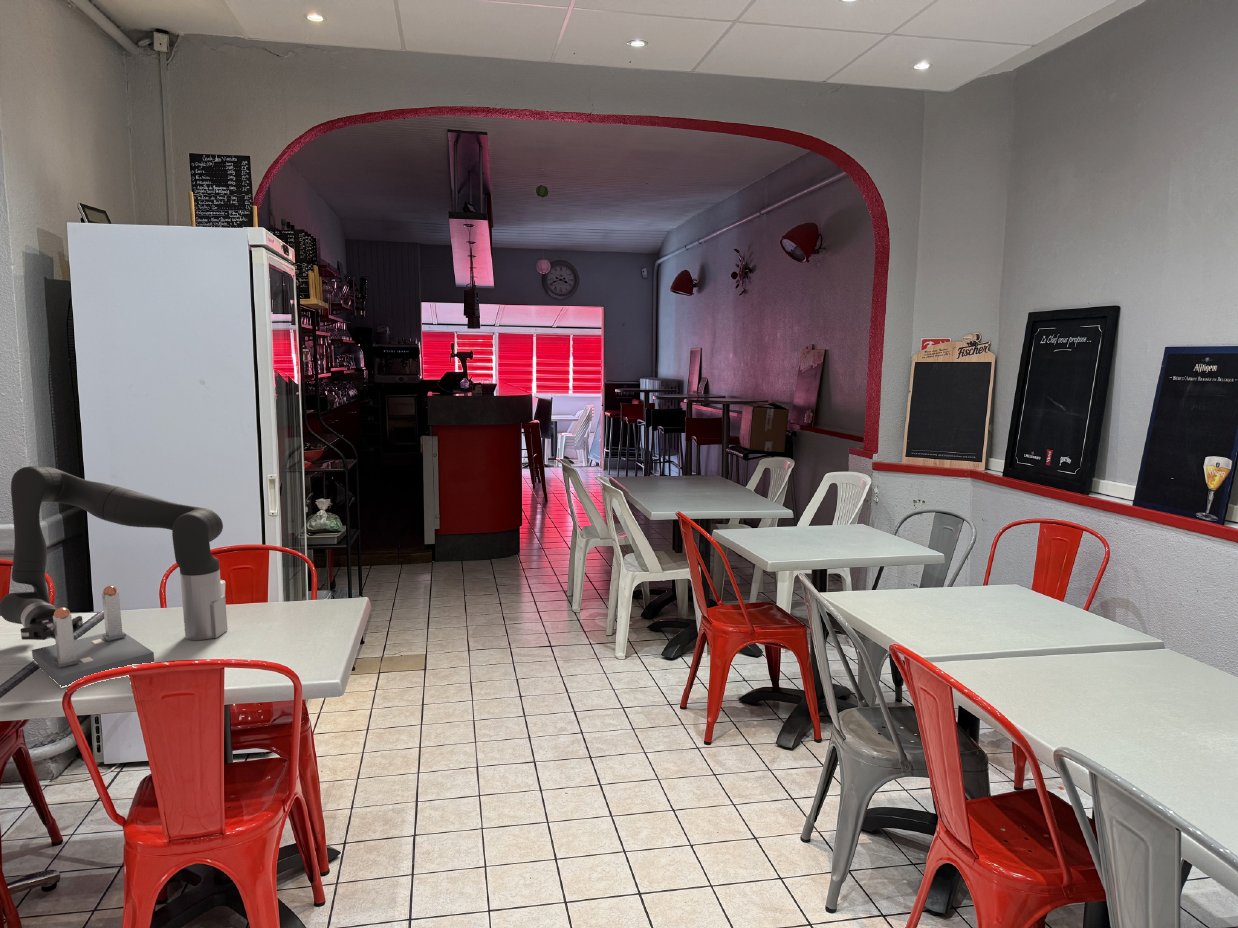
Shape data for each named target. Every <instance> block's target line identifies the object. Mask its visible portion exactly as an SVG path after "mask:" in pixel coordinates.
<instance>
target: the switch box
mask: <svg viewBox="0 0 1238 928" xmlns="http://www.w3.org/2000/svg"><path fill="white" fill-rule="evenodd" d="M103 634H106V632H105V633H100V634H96V635H92V636H87V637H82V638H78V639H77V638H76V639H74V646H75V655H76V657H77V658H78V659H79V660H80V663H77V664H73V665H69V666H65V667H61V668H59V667H58V666H57V665H56V664H54V660H57V650H56V643H55V644H53V645H48V646H43V647H39V648H34V649H32V650H31V655H32V660H33V659H34V660H35V661H36V662H37V663H38V665H39V667H40V668H41V669H40V668H39V667H38V668H39V669H40V670H41V671H42V670H43V671H44V672H45V673H46V674H45V673H44V672H43V671H42V672H43V673H44V674H45V675H46V676H48V677H49V676H50V677H51V678H52V679H54V680H55V681H56V682H57V683H58V684H59V685H61V687H62V686H65V685H67V686H68V685H69V684H71V683H72V682H74V681H76V680H78V679H80V678H83V677H84V676H88V675H91V674H94V673H98V672H101V671H105V670H109V669H112V668H118V667H124V666H127V665H132V664H142V663H151V662H155V652H154V651H153V650H151V649H150V648H148V647H146V646H145V645H143V643H141V642H140V641H138V640H136V639H135V638H133V637H131V636H130V635H129V634H127V633H126V637H123V638H119V639H114V640H110V641H107V640H106V639H105V638H103ZM50 677H49V678H50ZM51 678H50V679H51ZM52 679H51V680H52Z"/></svg>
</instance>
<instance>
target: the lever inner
mask: <svg viewBox="0 0 1238 928" xmlns="http://www.w3.org/2000/svg"><path fill="white" fill-rule="evenodd" d="M101 596H102V597H101V599H102V608H103V617H104V629H105V633H106V634H104V633H102V634H103V638H105V639H106V640H107V641H110V640H114V639H119V638H123V637H126V634H127V633H125V632H124V630H123V625H122V624H123V623H122V613H121V604H120V603H121V602H120V592H119V591H118V588H117V587H116V586H113V585H108V586H105V588H104V589H103V591H102V593H101Z"/></svg>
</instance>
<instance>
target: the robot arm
mask: <svg viewBox="0 0 1238 928" xmlns="http://www.w3.org/2000/svg"><path fill="white" fill-rule="evenodd" d="M10 483H11V484H10V497H11V504H12V505H11V507H12V517H13V519H12V521H13V529H14V530H13V531H14V532H13V533H14V545H13V546H14V548H13V551H14V552H13V558H12V567H11V568H12V569H11V580H12V581H13V582H14V583H17V584H21V585H30V586H31V587H32V588H33V591H24V592H21V591H20V592H11V593H8V594H6V595H5V596H3V597H2V599H1V600H0V616H1V617H2V618H3V620H5V621H6V622H9V623H12V624H17V625H22V626H23V627H22V628H20V638H21V640H27V641H29V640H31V641H33V640H34V641H36V640H37V641H39V640H40V641H45V640H49V639H52V640H53V639H54V640H55V631H54V622H53V616H54V612H55V611H56V610H57V609H58V608H57V607H56V606H54V605H53V604H51V600H50V596H49V595H50V594H49V593H48V588H47V580H46V570H47V560H48V559H47V558H48V547H47V542H46V538H45V536H44V534H43V529H42V528H41V527H42V526H41V522H40V513H41V506H42V503H44V502H45V503H48V502H49V503H50V502H51V503H59V504H64V505H70V506H74V507H76V508H77V507H78V508H80V509H82V510H83V511H85V512H87V513H89V514H90V515H92V516H93V517H96V518H98V519H99V520H103V521H105V522H109V523H113V524H117V525H121V526H126V527H133V528H148V529H149V528H152V529H153V528H155V529H164V530H170V531H171V534H172V536H171V537H172V544H173V551H174V552H173V553H174V559H175V562H176V564H177V567H178V569H179V576H180V590H181V601H182V612H183V623H184V625H183V626H184V635H185V639H187V640H191V641H203V640H208V639H216V638H217V639H218V638H219V637H220V636H222V635H223V634H224V633H226V632H227V631H228V618H227V617H228V616H227V606H226V605H227V604H226V602H227V601H226V595H225V596H222V594H221V581H220V580H221V570H220V560H219V559H218V558H217V557H215V556H213V555H212V551H211V545H210V542H213V540H216V539H217V538H218V537H219V536H220V535H221V534H222V532H223V529H224V524H223V521H222V518H221V517H220V516H219V514H217V513H216V512H215V511H213V510H211V509H208V508H204V507H199V506H192V505H187V504H183V503H182V504H181V503H177V502H171V501H169V500H166V499H163V498H160V497H156V496H152V495H149V494H145V493H143V492H142V493H141V492H139V491H135V490H132V489H128V488H125V487H121V486H116V485H112V484H109V483H108V484H107V483H105V482H104V483H103V482H97V481H91V480H87V479H84V478H81V477H78V476H75V475H73V474H70V473H68V472H65V471H63V470H60V469H58V468H54V467H52V466H34V465H33V466H24V467H21V468H19V469H18V470H16V472H15V473H14V474H13V476H12V477H11V481H10ZM72 626H73V634H75V632H77V631H79V630H80V629H81V628H82V627H84V621H83V615H82V616H81V615H78V616H76V617H73V618H72Z"/></svg>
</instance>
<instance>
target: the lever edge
mask: <svg viewBox="0 0 1238 928" xmlns="http://www.w3.org/2000/svg"><path fill="white" fill-rule="evenodd" d="M72 619H73V618H72V614H71V612H70V609H68V608H67V607H64V606H63V607H58V608H57V610H56V611H55V612H54V616H53V622H54V631H55V639H54V640H55V641H54V642H55V644H56V650H57V660H54V664H56V665H57V666H58V667H59V668H61V667H65V666H69V665H73V664H77V663H80V660H79V659H78V658H77V657H76V655H75V646H74V640H75V637H74V633H73V626H72Z"/></svg>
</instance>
